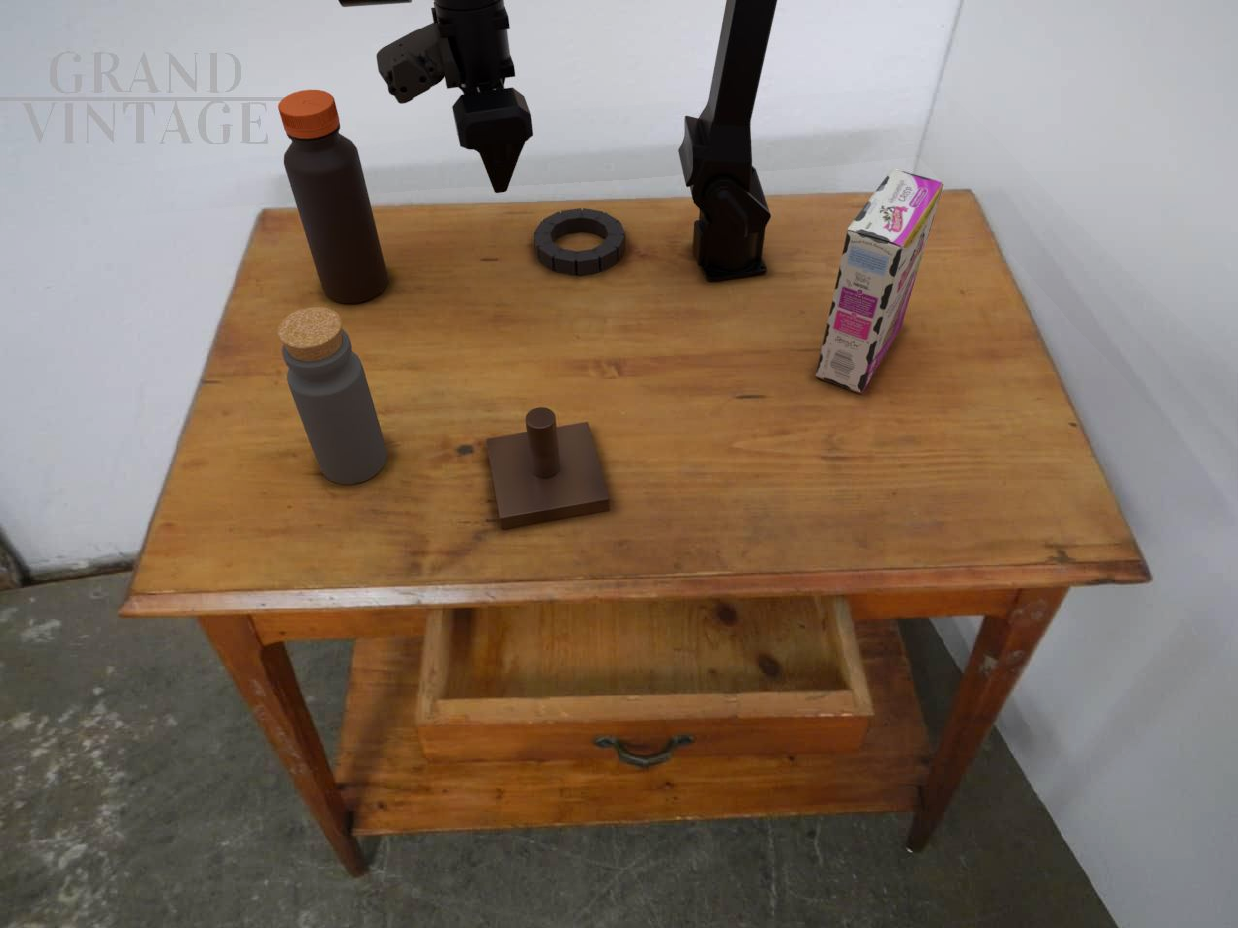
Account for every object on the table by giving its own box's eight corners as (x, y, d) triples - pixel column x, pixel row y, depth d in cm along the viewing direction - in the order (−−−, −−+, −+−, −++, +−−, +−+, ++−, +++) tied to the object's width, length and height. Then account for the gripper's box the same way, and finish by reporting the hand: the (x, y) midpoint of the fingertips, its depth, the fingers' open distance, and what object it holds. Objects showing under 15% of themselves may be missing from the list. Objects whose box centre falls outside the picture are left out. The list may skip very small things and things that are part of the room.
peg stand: (588, 433, 83) (585, 370, 78) (609, 510, 77) (608, 448, 72) (487, 450, 82) (477, 388, 76) (501, 529, 76) (491, 468, 70)
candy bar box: (864, 397, 86) (903, 247, 73) (813, 378, 87) (843, 229, 75) (905, 328, 92) (947, 179, 80) (856, 312, 94) (890, 164, 82)
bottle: (373, 490, 79) (330, 356, 68) (308, 480, 80) (255, 346, 69) (397, 440, 83) (361, 306, 72) (335, 431, 84) (289, 297, 72)
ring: (613, 217, 105) (613, 203, 104) (632, 267, 99) (632, 253, 98) (529, 228, 104) (528, 214, 103) (543, 280, 98) (542, 266, 97)
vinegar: (392, 263, 100) (349, 82, 85) (385, 303, 96) (339, 120, 81) (328, 266, 100) (274, 85, 85) (318, 307, 95) (259, 123, 80)
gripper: (364, -33, 83) (401, 131, 94) (378, 59, 71) (418, 235, 82) (489, -49, 84) (510, 114, 96) (523, 39, 72) (542, 214, 84)
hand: (493, 166), depth 89 cm, fingers open, 9 cm apart
